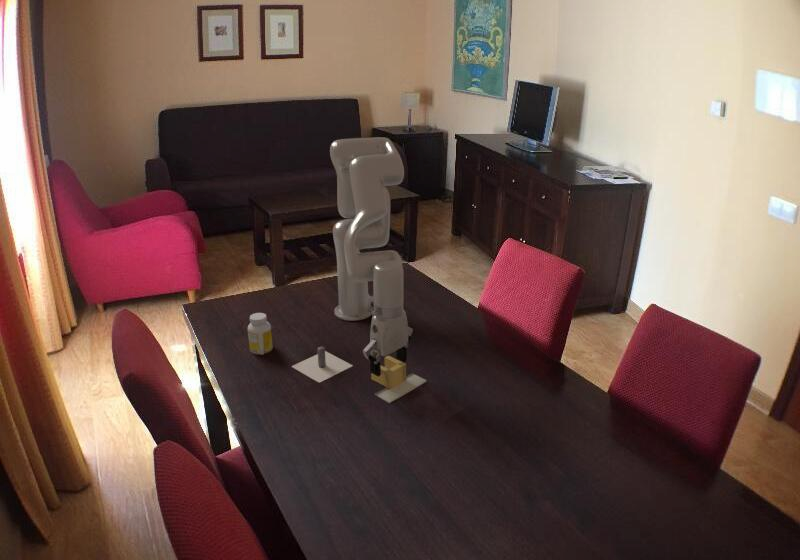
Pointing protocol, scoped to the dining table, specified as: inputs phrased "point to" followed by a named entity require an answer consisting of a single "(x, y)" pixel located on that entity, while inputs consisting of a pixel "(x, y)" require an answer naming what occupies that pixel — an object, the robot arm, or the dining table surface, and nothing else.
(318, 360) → the stand
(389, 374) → the c link
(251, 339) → the pill bottle
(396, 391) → the mat
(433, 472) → the dining table surface
